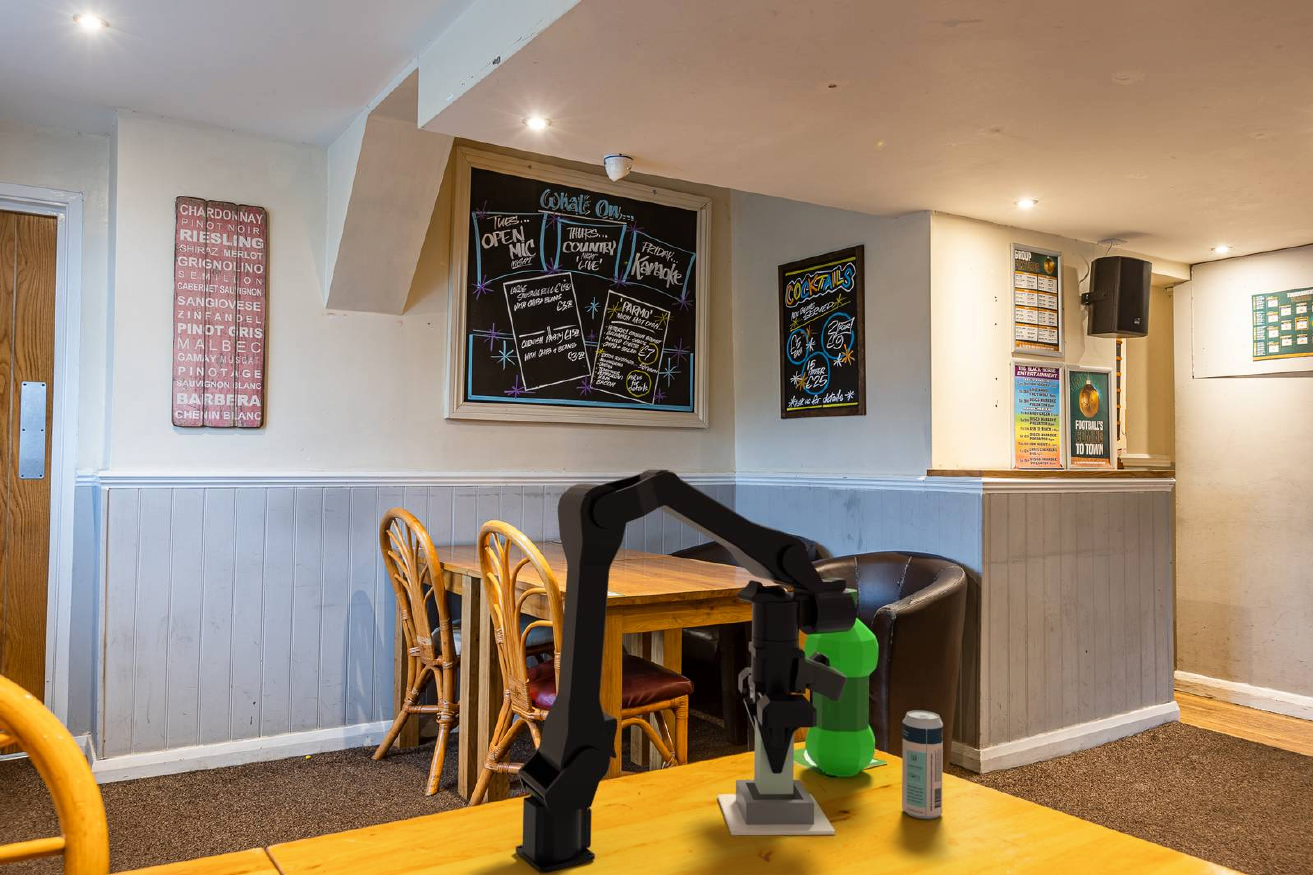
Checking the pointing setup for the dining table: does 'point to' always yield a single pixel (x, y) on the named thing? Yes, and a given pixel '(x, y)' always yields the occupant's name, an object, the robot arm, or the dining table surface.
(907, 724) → the beer can
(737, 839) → the dining table surface
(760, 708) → the robot arm
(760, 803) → the socket
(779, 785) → the sage block
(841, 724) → the plastic bottle
